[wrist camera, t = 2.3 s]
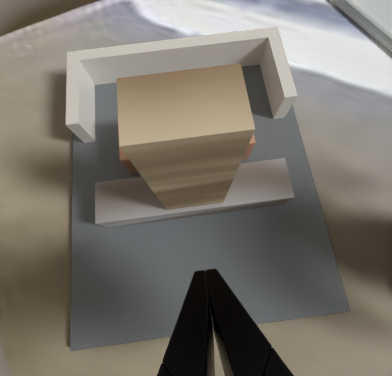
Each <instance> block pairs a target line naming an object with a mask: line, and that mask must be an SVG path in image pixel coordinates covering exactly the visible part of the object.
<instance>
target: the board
mask: <svg viewBox="0 0 392 376" xmlns="http://www.w3.org/2000/svg"><path fill="white" fill-rule="evenodd" d="M241 68H242V72H243V76H244V81H245V85H246V90H247V94H248V99H249V103H250V108H251V112H252V116H253V121H254V125H255V131H254V137H255V142H256V143H255V145H254V147H253V149H252V152H251V154H250V156H249V158H248V159H244V160H242V161H241V163H240V164H242V163H249V162H257V161H265V160H272V159H280V158H285V160H286V164H287V168H288V172H289V176H290V180H291V184H292V188H293V192H294V196H295V197H294V198H293V199H291V200H289V201H288V202H286V203H285V204H283V205H276V206H268V207H261V208H253V209H246V210H238V211H231V212H223V213H216V214H208V215H201V216H194V217H186V218H179V219H171V220H164V221H156V222H149V223H141V224H134V225H126V226H119V227H111V228H108V227H104V226H101V225H98V224H95V183H96V182H104V181H111V180H119V179H127V178H134V177H142V176H141V175H140V173H136V174H131V173H130V172H129V171H128V170H127V168H126V167H125V166H124V165H123V164H122V163H121V161H120V156H119V134H118V102H117V82H116V83H107V84H99V85H95V142H88V143H84V142H83V141H82V140H81V139H80V138H79V137H77V136H76V135H75V134H74V133H73V172H72V245H71V319H70V351H73V350H80V349H87V348H94V347H101V346H108V345H115V344H122V343H129V342H136V341H143V340H150V339H157V338H164V337H171V336H172V333H173V330H174V327H175V324H176V322H177V319H178V316H179V313H180V310H181V308H182V305H183V302H184V299H185V296H186V294H187V291H188V288H189V285H190V282H191V280H192V277H193V274H194V272H195V271H199V270H205V272H206V270H207V269H213V268H216V269H217V270H218V271H219V273H220V274H221V276H222V277H223V278H224V280H225V281H226V283H227V284H228V285H229V287H230V288H231V290H232V291H233V292H234V294H235V295H236V297H237V298H238V299H239V301H240V302H241V304H242V305H243V306H244V308H245V309H246V311H247V312H248V313H249V315H250V316H251V318H252V319H253V320H254V322H255V323H256V324H262V323H269V322H276V321H283V320H290V319H297V318H304V317H311V316H318V315H325V314H332V313H339V312H346V311H350V308H349V304H348V301H347V297H346V294H345V290H344V287H343V283H342V279H341V276H340V272H339V269H338V265H337V262H336V258H335V255H334V251H333V248H332V244H331V241H330V237H329V233H328V230H327V226H326V223H325V219H324V216H323V212H322V209H321V205H320V202H319V198H318V195H317V191H316V187H315V184H314V180H313V177H312V173H311V170H310V166H309V163H308V159H307V156H306V152H305V149H304V145H303V141H302V138H301V134H300V131H299V127H298V124H297V120H296V117H295V113H294V110H293V106H291V107H290V109H289V111H288V112H287V114H286V116H285V117H284V118H276V119H273V115H272V111H271V107H270V103H269V99H268V95H267V91H266V87H265V84H264V80H263V76H262V72H261V68H260V65H254V66H245V67H241ZM206 279H207V278H206ZM207 286H208V285H207ZM210 308H211V307H210ZM212 323H213V322H212ZM213 330H214V328H213Z"/></svg>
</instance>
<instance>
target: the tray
mask: <svg viewBox="0 0 392 376" xmlns="http://www.w3.org/2000/svg"><path fill="white" fill-rule="evenodd" d="M237 63H241V67H245V66H254V65H260V68H261V72H262V76H263V80H264V84H265V87H266V91H267V95H268V99H269V103H270V107H271V111H272V115H273V119H276V118H284V117H285V116H286V114H287V112H288V111H289V109H290V107H291V106H292V104H293V102H294V101H295V99H296V98H297V92H296V89H295V85H294V82H293V79H292V75H291V72H290V68H289V65H288V62H287V58H286V55H285V51H284V48H283V45H282V41H281V38H280V34H279V31H278V27H271V28H263V29H254V30H246V31H238V32H230V33H221V34H213V35H205V36H196V37H188V38H180V39H171V40H163V41H155V42H147V43H138V44H130V45H122V46H113V47H105V48H97V49H88V50H80V51H72V52H67V84H66V126H67V127H68V128H69V129H70V130H71V131H72V132H73V133H74V134H75V135H76V136H77V137H79V138H80V139H81V140H82V141H83V142H84V143H88V142H95V85H99V84H107V83H116V82H117V80H116V78H123V77H131V76H139V75H148V74H156V73H164V72H172V71H180V70H188V69H196V68H205V67H213V66H221V65H229V64H237Z"/></svg>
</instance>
